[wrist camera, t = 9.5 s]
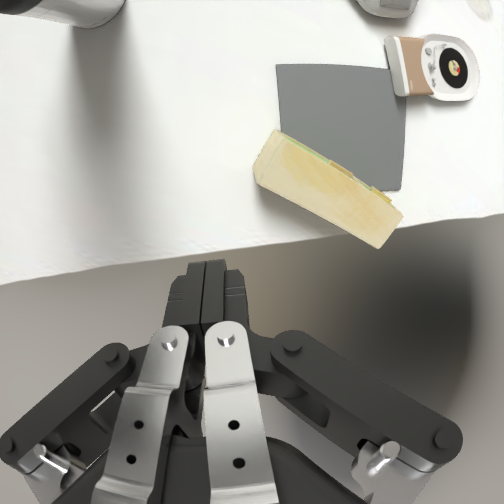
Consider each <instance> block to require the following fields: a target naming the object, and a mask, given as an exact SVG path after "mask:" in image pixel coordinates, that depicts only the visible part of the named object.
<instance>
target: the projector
mask: <svg viewBox="0 0 504 504" xmlns="http://www.w3.org/2000/svg"><path fill="white" fill-rule="evenodd" d="M417 1H418V0H357V2H358V3H359V4H360V6H361V7H362V8H363V9H364V10H365V11H367V12H368V13H371V14H373V15H376V16H381V17H389V18H405V17H408V16H410V15H411V14H412V13H413V11H414V9H415V7H416V4H417Z"/></svg>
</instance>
